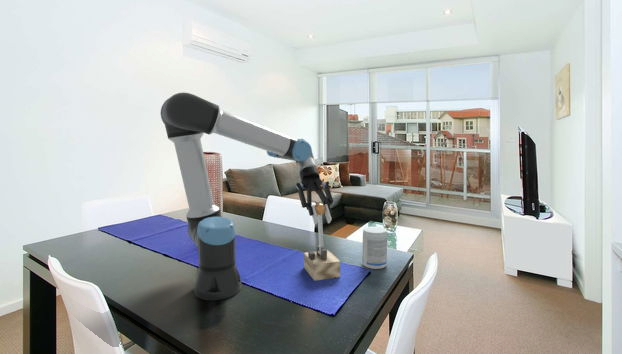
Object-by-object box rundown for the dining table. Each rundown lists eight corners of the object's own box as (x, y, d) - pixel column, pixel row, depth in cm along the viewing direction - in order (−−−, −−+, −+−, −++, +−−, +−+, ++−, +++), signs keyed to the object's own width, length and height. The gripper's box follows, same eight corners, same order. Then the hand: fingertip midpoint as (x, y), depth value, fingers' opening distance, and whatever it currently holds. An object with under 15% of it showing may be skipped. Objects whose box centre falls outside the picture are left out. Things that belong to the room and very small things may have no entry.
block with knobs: (314, 280, 110) (314, 255, 109) (304, 267, 121) (304, 244, 120) (340, 276, 113) (340, 251, 112) (327, 264, 124) (328, 241, 123)
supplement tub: (391, 266, 123) (393, 230, 121) (374, 272, 117) (375, 234, 116) (373, 258, 131) (375, 224, 129) (357, 263, 125) (358, 228, 124)
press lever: (318, 258, 114) (315, 205, 111) (314, 254, 118) (311, 202, 115) (329, 256, 115) (326, 203, 112) (325, 252, 119) (322, 201, 116)
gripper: (326, 176, 130) (342, 224, 116) (285, 178, 124) (297, 229, 111) (331, 164, 124) (348, 214, 111) (288, 166, 118) (302, 218, 105)
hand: (323, 221), depth 111 cm, fingers closed on press lever, 4 cm apart
